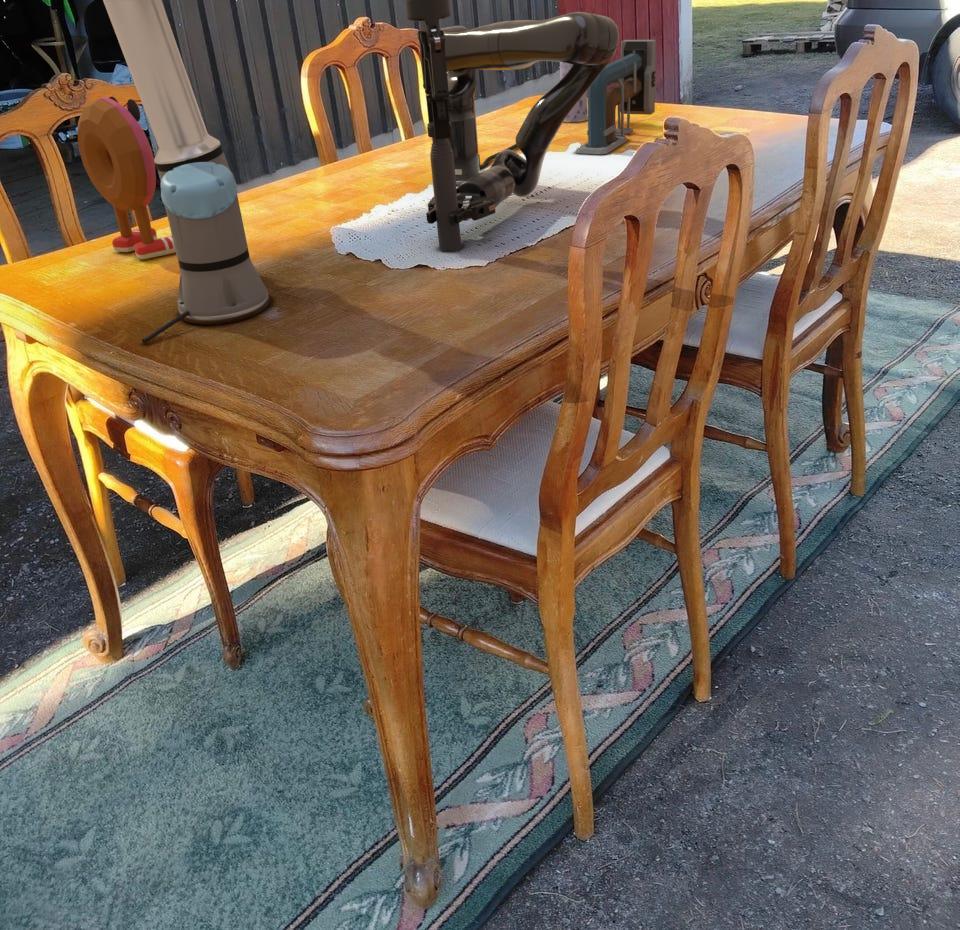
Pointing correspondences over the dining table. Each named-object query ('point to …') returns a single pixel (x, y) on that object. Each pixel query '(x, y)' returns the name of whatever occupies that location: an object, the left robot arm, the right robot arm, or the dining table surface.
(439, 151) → the bottle
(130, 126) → the toy
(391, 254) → the dining table surface
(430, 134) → the cap
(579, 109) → the aerosol can
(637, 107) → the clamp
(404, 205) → the dining table surface
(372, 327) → the dining table surface
